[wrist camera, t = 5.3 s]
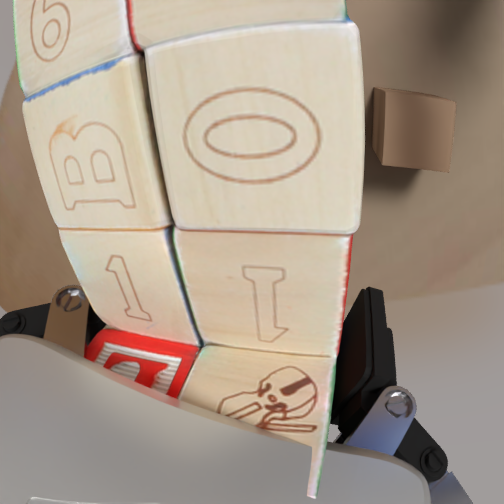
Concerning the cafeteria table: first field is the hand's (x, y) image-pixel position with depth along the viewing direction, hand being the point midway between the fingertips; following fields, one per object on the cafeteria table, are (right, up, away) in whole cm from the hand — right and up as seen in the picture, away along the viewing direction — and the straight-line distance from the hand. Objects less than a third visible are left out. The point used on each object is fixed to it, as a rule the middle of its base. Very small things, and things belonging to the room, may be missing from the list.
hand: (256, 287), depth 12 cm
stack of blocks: (+1, +3, +4) cm, 5 cm away
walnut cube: (+12, +12, +9) cm, 19 cm away
